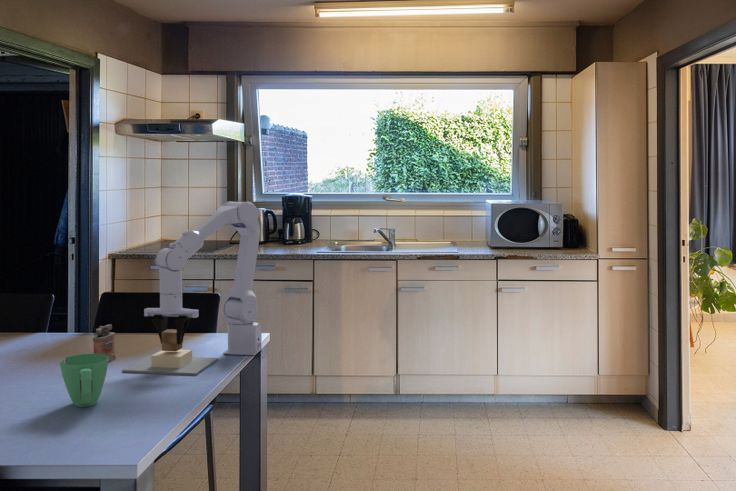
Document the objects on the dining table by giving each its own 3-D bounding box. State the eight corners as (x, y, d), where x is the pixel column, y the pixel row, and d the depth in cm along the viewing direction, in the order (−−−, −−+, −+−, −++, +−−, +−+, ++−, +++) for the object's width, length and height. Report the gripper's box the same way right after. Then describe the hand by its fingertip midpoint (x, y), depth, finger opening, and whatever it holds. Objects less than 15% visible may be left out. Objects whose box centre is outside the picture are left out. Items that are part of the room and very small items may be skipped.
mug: (60, 399, 149) (59, 356, 148) (107, 394, 153) (106, 351, 152) (62, 420, 136) (60, 372, 135) (113, 413, 140) (112, 367, 139)
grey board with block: (218, 360, 185) (218, 347, 185) (196, 375, 169) (195, 361, 169) (150, 357, 188) (150, 344, 188) (122, 372, 172) (122, 358, 172)
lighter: (101, 366, 178) (100, 329, 177) (90, 365, 179) (89, 328, 178) (118, 358, 186) (117, 323, 185) (107, 358, 187) (106, 322, 186)
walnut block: (182, 347, 180) (182, 329, 180) (176, 351, 176) (175, 332, 176) (168, 347, 181) (168, 329, 180) (161, 350, 177) (161, 332, 176)
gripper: (138, 294, 174) (139, 345, 175) (191, 296, 172) (191, 347, 173) (150, 290, 181) (151, 339, 182) (201, 292, 179) (202, 341, 180)
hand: (171, 343), depth 178 cm, fingers closed on walnut block, 4 cm apart
